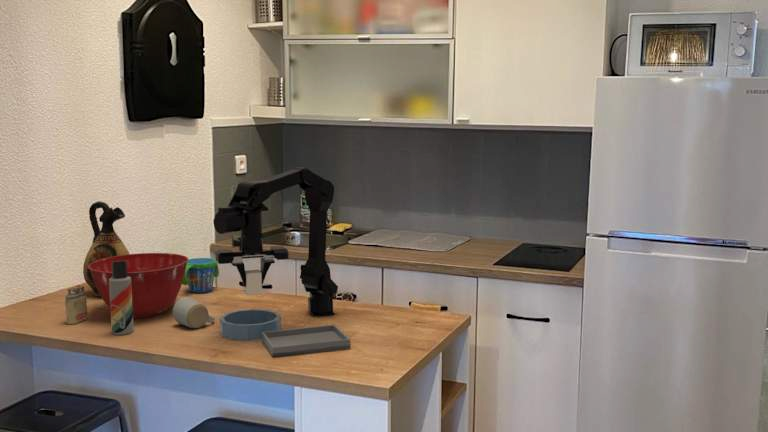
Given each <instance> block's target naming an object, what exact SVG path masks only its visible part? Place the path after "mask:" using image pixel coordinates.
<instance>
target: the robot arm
mask: <svg viewBox="0 0 768 432" xmlns="http://www.w3.org/2000/svg"><path fill="white" fill-rule="evenodd" d="M295 186H298V188H299V189H301V190H302V191H303V192H304V198H305V199H304V200H305V202H306V204H307V206H308V208H309V224H308V225H309V227H308V228H309V229H308V231H309V232H308V253H307V256H308V258H307V260H306V262H305V263H304V264H301V265H300V268H299V269H300V275H299V279H301V280H300V281H301V284H302V285H303V287H304V290H305V292H306V293H309V297H308V298H307V312H308V313H310V314H311V315H312V317H321V316H331V315H335V314H336V313H335V311H334V295H336V294H338V289H339V286H338V285H337V283H336V282H334V281H333V279H332V276H331V269H330V266H329V264H328V262H327V260H326V253H327V252H326V251H327V250H326V249H327V223H328V220H327V218H328V210H329V208H330V207H331V204H332V203H333V200H334V196H335V195H334V194H335V185H334V184H333V183H332V182H331V181H330V180H328V179H325V178H323V177H322V176H320V175H318V174H316V173H314V172H313V171H311V170H310V169H309V168H307V167H297V166H296V167H294V168H292V169H291V170H288V171H284V172H282V173H279V174H276V175H273V176H271V177H268V178H264V179H258V180H257V179H256V180H255V179H254V180H245V181H241V182H239V183H238V184H237V186H236V189H235V192H234V193H233V195H232V197H231V199H230V201H229V203H228V205H227V206H226V207H225V206H219V207H218V208H217V211H218V212H217V213H216V214H215V215H214V218H213V226H214V229H215V231H216V232H217V233H218V234H220V235H222V234H223V235H224V234H229V233H237V232H240V235H239V234H238V235H237V234H236V235H231V247H232V249H234V248H235V249H236V248H238V250H239V251H235V252H234V251H233V250H232V249H231V248H230V249H229V248H226V249H218V250H216V251H215V260H216V262H217V265H222V264H223V265H224V264H226V265H227V264H231V265H232V266H233V267H236V269H237V271H238V273H239V275H240V279H241V281H242V285H243V288H245V287H246V275H245V271H246V267H245V263H244V262H243V259H245V260H246V259H256V258H257V259H258V258H260V259H259V260H260V269H259V270H260V272H261V275H262V285H263V284H264V281H265V279H266V276H267V273H268V271H269V269H270V267H271V265H272V264H275V262H276V261H275V259H276V260H277V261H279V260H282V261H283V260H289V250H288V249H287V248H286V247H285V246H284V245H274V246H270V248H269V249H264V247H263V246H264V243H263V236H264V235H263V212H268V211H269V207H267V206H266V205H265V204H264V202H266V201H267V200H269V199H270V198H271V196H272V195H274V194H276V193H278V192H281V191H283V190H286V189H289V188H292V187H295Z"/></svg>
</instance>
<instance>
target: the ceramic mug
mask: <svg viewBox="0 0 768 432" xmlns="http://www.w3.org/2000/svg"><path fill="white" fill-rule="evenodd" d="M172 316H173V317H172V318H173V319H174V321H175V322H177V323H178V324H180V325H183V326H186V327H187V328H190V329H199V328H202V327H203V326H205V324H207V323H210V324H213V323H214V322H215V320H216V318H215V317H214V316H212V315H211V314H210V315H209V309H208V308H207V307H206V305H205V304H203V303H202V302H200V301H197V300H195V299H193V298H191V297H189V296H184V297H181V298H179V299H177V301H176V302H174V304H173V308H172Z"/></svg>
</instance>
